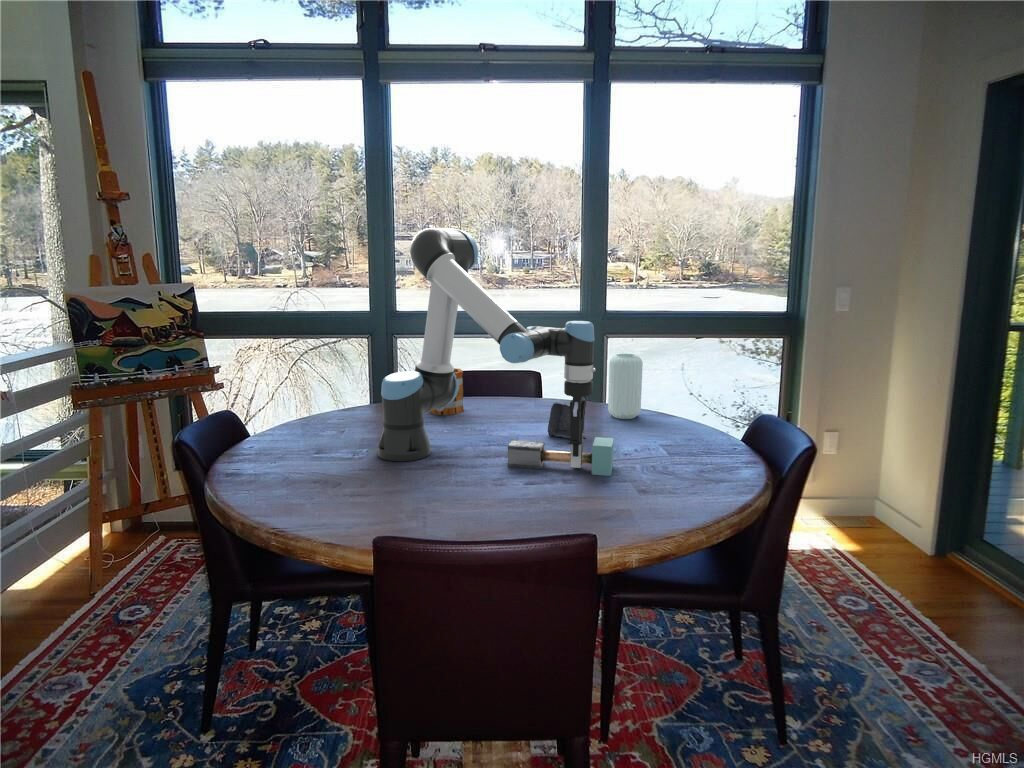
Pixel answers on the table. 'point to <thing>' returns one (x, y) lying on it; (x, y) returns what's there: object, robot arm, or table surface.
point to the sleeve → (525, 454)
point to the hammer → (566, 455)
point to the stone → (560, 420)
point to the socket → (602, 456)
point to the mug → (457, 403)
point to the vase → (625, 386)
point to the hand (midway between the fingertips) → (576, 464)
